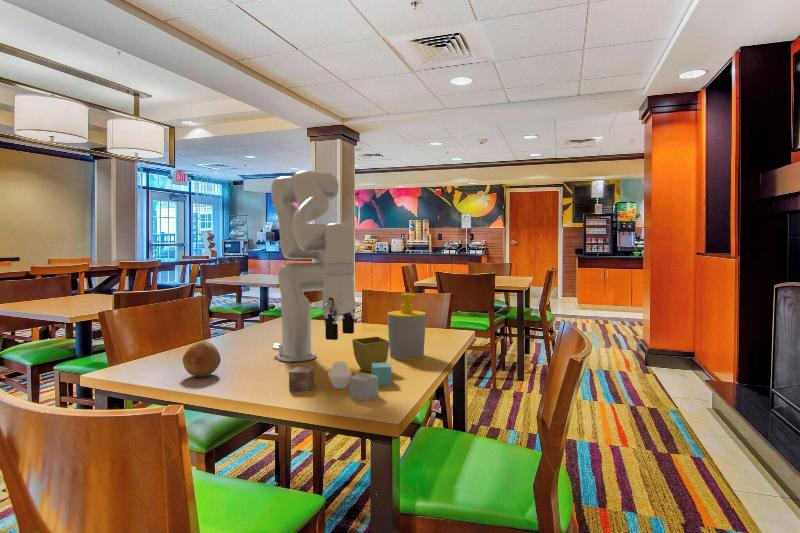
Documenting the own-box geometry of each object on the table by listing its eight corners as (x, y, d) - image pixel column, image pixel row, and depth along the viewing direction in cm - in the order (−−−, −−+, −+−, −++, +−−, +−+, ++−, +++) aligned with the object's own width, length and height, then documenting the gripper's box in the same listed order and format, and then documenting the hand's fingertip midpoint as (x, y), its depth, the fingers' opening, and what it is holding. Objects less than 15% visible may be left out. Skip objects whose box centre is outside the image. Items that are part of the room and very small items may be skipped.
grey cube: (349, 397, 114) (349, 377, 113) (362, 392, 118) (362, 372, 118) (365, 401, 111) (365, 380, 111) (378, 395, 115) (378, 375, 115)
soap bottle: (426, 360, 150) (426, 295, 149) (386, 360, 150) (386, 295, 150) (425, 351, 163) (425, 292, 162) (388, 351, 164) (388, 291, 163)
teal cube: (372, 386, 123) (372, 367, 123) (371, 381, 128) (371, 363, 128) (391, 385, 123) (391, 367, 123) (389, 380, 128) (389, 362, 128)
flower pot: (362, 374, 134) (362, 344, 133) (351, 368, 141) (351, 338, 141) (390, 371, 138) (390, 341, 137) (377, 364, 145) (377, 336, 145)
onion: (183, 373, 135) (182, 339, 134) (220, 370, 139) (219, 337, 138) (182, 382, 126) (181, 346, 125) (221, 378, 130) (220, 343, 129)
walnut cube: (289, 391, 119) (288, 371, 119) (296, 385, 124) (296, 366, 124) (307, 392, 118) (307, 372, 118) (314, 386, 123) (314, 367, 123)
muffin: (356, 386, 123) (356, 360, 122) (341, 392, 118) (341, 364, 117) (338, 382, 126) (338, 357, 126) (323, 388, 121) (323, 361, 121)
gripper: (340, 269, 130) (341, 330, 130) (310, 272, 113) (311, 341, 114) (365, 269, 128) (366, 331, 128) (337, 272, 111) (338, 343, 111)
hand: (340, 336), depth 121 cm, fingers open, 9 cm apart
